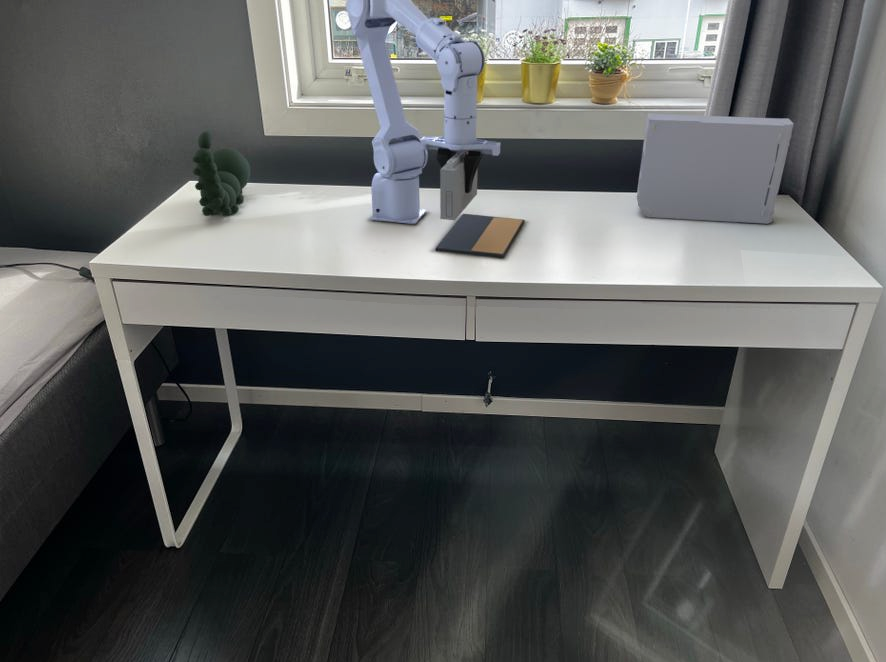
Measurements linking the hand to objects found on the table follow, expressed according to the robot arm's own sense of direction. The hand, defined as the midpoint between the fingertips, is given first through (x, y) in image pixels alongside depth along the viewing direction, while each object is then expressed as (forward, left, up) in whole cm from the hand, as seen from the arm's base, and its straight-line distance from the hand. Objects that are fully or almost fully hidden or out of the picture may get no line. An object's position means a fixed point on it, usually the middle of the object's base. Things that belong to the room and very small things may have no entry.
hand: (459, 190), depth 141 cm
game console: (+45, +28, -10) cm, 54 cm away
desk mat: (+4, +4, -10) cm, 11 cm away
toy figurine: (-53, +5, -10) cm, 54 cm away
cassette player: (0, 0, -3) cm, 3 cm away
